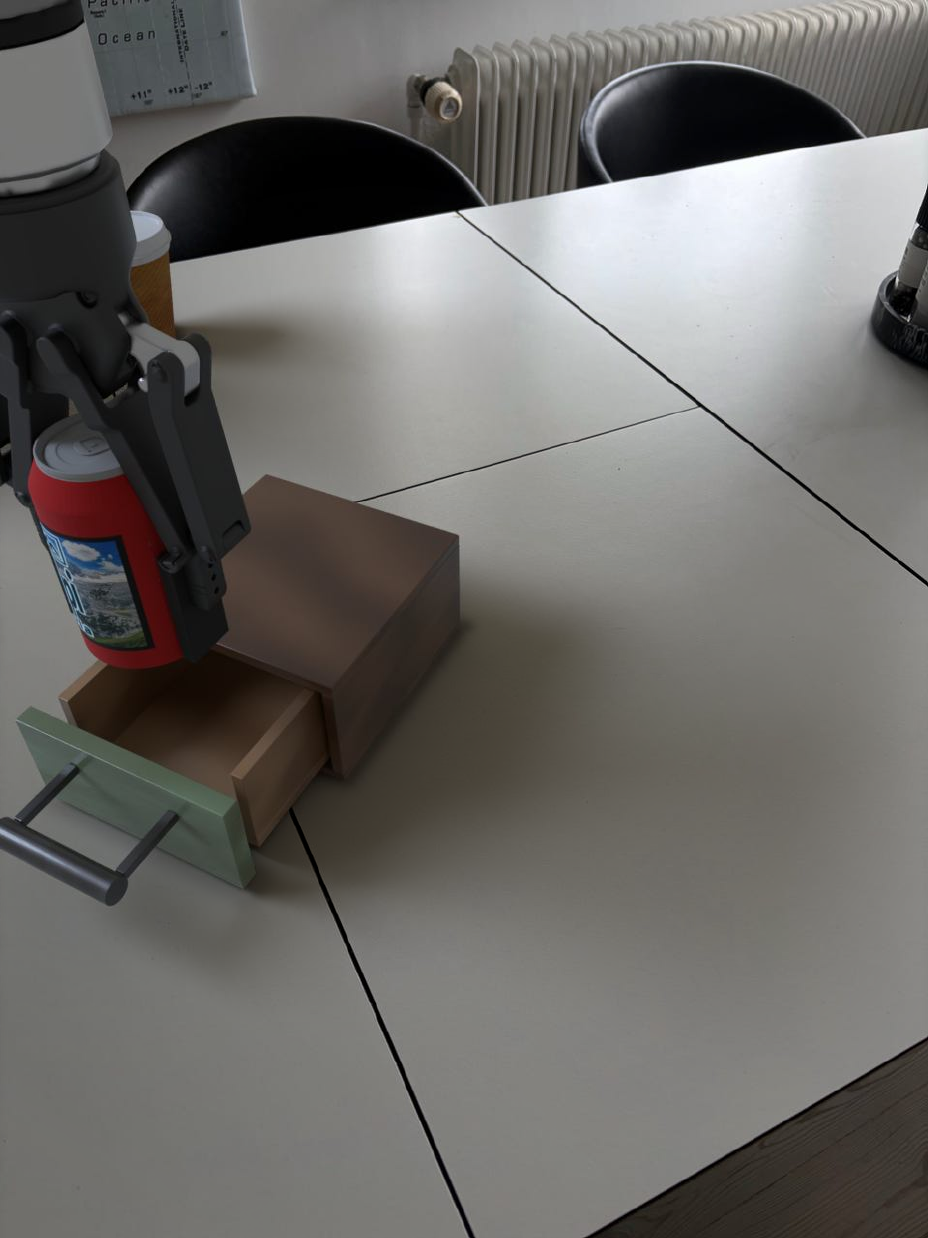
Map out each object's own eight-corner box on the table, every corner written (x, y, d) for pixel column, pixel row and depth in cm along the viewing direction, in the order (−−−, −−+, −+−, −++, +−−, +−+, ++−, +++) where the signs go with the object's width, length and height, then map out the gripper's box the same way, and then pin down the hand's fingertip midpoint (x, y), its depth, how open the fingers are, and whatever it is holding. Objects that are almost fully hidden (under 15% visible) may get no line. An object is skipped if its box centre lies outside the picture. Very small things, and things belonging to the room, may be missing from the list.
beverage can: (65, 628, 53) (-9, 435, 45) (180, 575, 56) (130, 384, 48) (123, 701, 49) (53, 503, 41) (242, 639, 53) (200, 444, 44)
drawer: (176, 978, 52) (147, 907, 47) (-26, 868, 57) (-70, 795, 52) (378, 715, 65) (370, 639, 60) (200, 644, 70) (181, 569, 65)
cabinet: (344, 783, 62) (331, 688, 56) (147, 698, 67) (116, 603, 62) (460, 628, 72) (459, 534, 66) (281, 565, 78) (265, 473, 72)
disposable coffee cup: (79, 358, 102) (44, 241, 93) (129, 316, 108) (101, 203, 100) (162, 372, 99) (135, 253, 91) (208, 328, 106) (186, 214, 98)
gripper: (-260, 151, 38) (-44, 607, 53) (154, 247, 31) (262, 736, 46) (-95, 96, 42) (58, 529, 58) (293, 169, 36) (348, 636, 51)
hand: (149, 620), depth 52 cm, fingers closed on beverage can, 7 cm apart
